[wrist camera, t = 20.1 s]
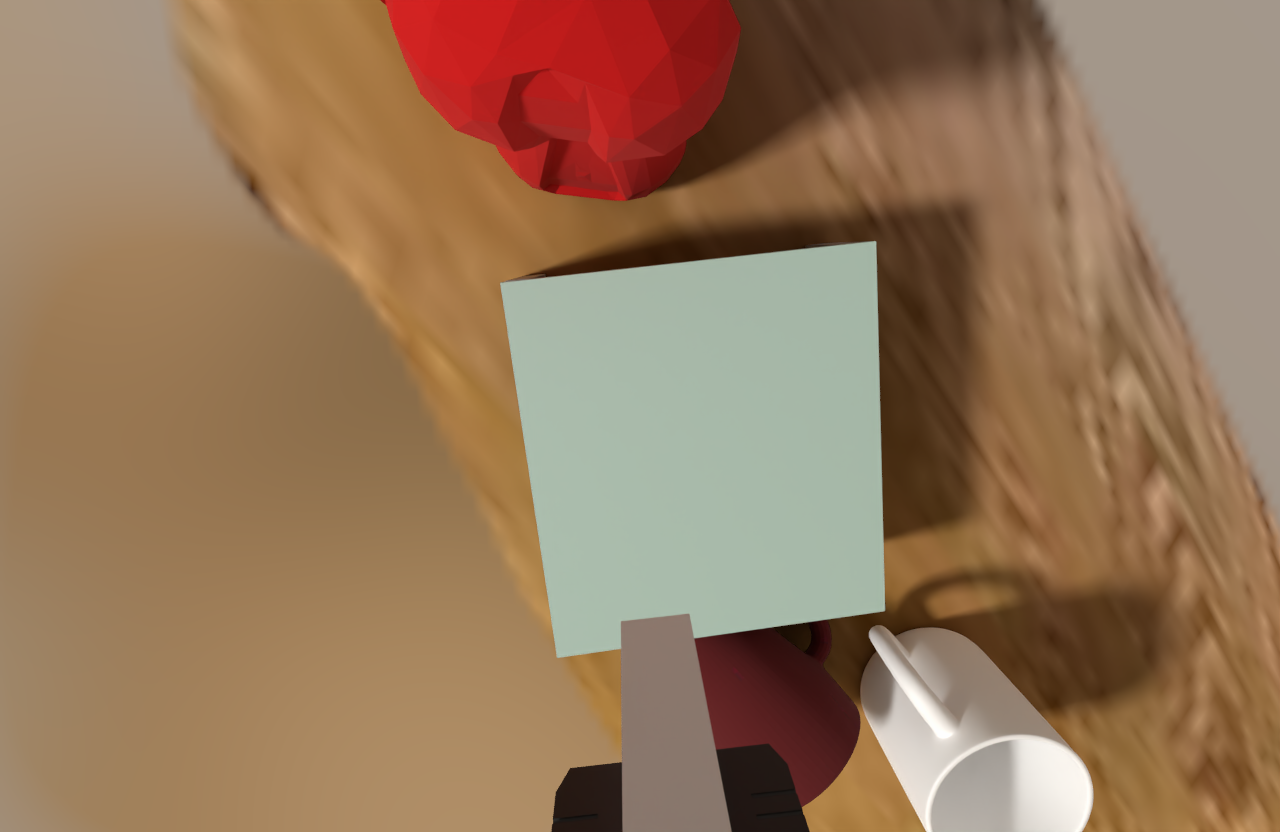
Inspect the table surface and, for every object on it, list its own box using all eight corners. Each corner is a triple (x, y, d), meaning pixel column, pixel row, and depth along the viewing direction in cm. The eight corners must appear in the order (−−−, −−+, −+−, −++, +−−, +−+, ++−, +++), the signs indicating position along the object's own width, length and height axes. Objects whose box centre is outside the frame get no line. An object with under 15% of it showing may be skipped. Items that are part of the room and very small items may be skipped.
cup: (904, 760, 45) (984, 904, 35) (795, 634, 42) (849, 751, 33) (1011, 688, 44) (1125, 815, 34) (906, 554, 41) (996, 649, 32)
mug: (791, 546, 36) (916, 684, 37) (741, 539, 44) (844, 653, 45) (648, 695, 34) (783, 842, 34) (622, 660, 42) (732, 780, 42)
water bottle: (473, -13, 34) (95, -702, 9) (696, 16, 34) (890, -557, 10) (464, 185, 36) (136, 47, 11) (674, 209, 36) (788, 128, 12)
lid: (502, 282, 30) (500, 282, 29) (866, 241, 31) (876, 241, 30) (557, 646, 34) (557, 657, 33) (876, 601, 35) (885, 611, 34)
